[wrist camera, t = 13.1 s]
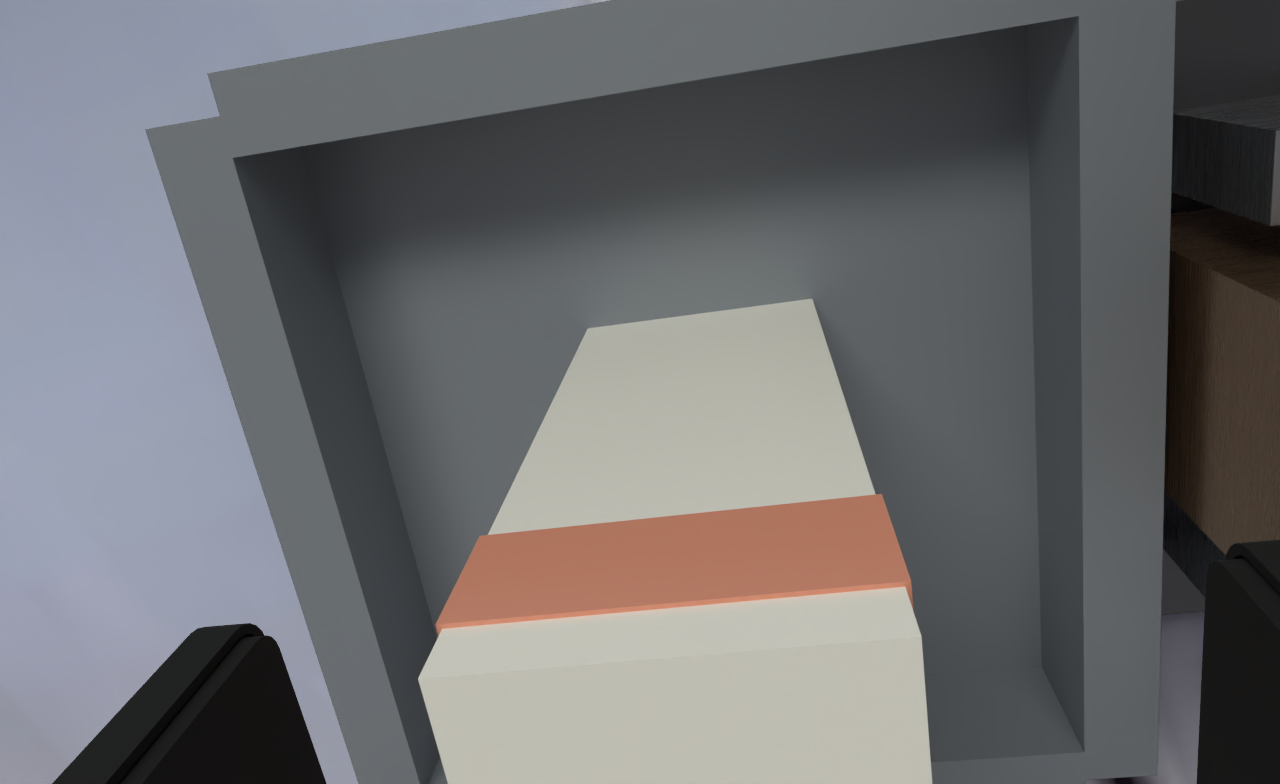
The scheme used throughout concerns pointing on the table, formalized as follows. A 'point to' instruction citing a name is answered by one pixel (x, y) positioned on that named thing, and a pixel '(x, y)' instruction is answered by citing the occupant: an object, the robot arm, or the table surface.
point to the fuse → (687, 578)
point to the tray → (715, 281)
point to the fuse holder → (1222, 293)
